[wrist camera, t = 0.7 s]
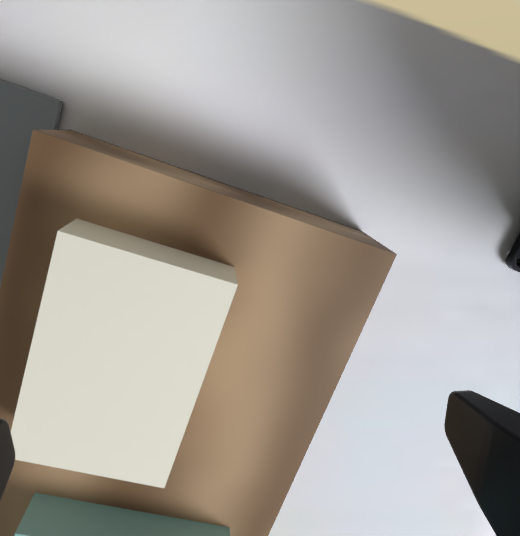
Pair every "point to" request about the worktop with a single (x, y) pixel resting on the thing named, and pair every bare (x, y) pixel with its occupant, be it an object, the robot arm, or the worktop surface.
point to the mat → (18, 147)
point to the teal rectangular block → (103, 521)
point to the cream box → (118, 354)
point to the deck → (231, 337)
